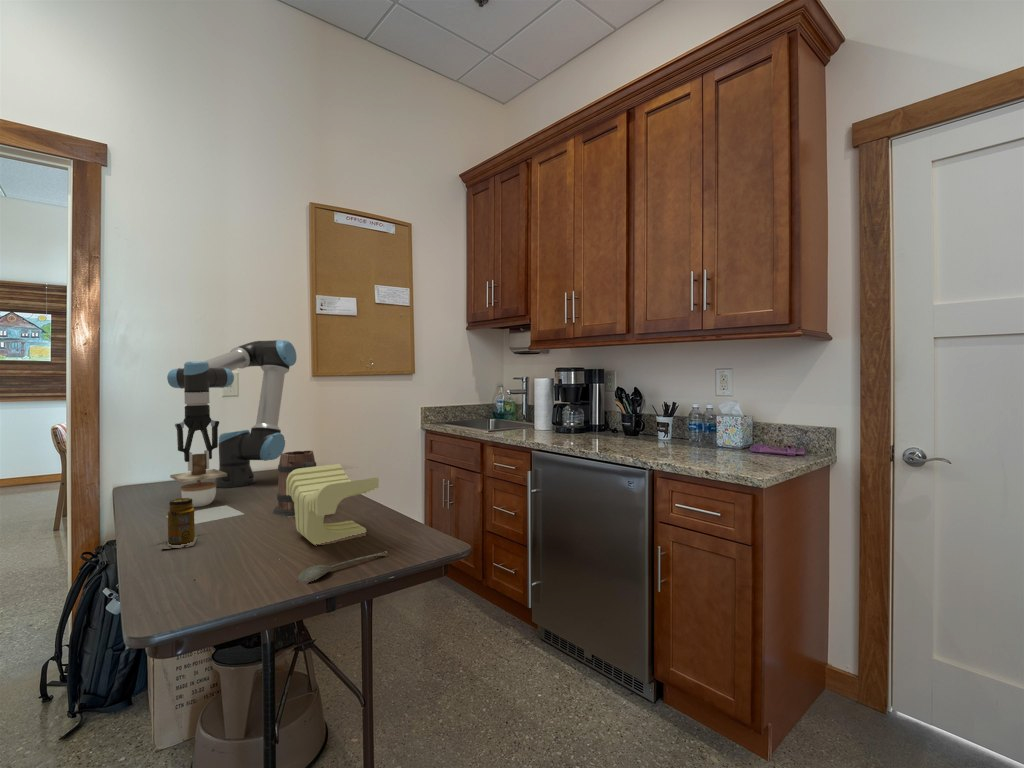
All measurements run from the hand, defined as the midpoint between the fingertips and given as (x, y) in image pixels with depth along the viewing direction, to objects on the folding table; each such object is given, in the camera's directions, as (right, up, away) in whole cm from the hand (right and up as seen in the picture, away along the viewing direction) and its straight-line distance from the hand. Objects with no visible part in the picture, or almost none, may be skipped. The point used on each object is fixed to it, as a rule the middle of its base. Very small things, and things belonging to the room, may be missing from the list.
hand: (198, 469), depth 174 cm
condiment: (+22, -13, -41) cm, 49 cm away
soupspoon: (+73, -13, -61) cm, 96 cm away
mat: (+12, -13, -14) cm, 23 cm away
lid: (0, -3, 0) cm, 3 cm away
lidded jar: (0, -13, 0) cm, 13 cm away
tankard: (+42, -13, -11) cm, 45 cm away
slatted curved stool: (+61, -13, -37) cm, 73 cm away
